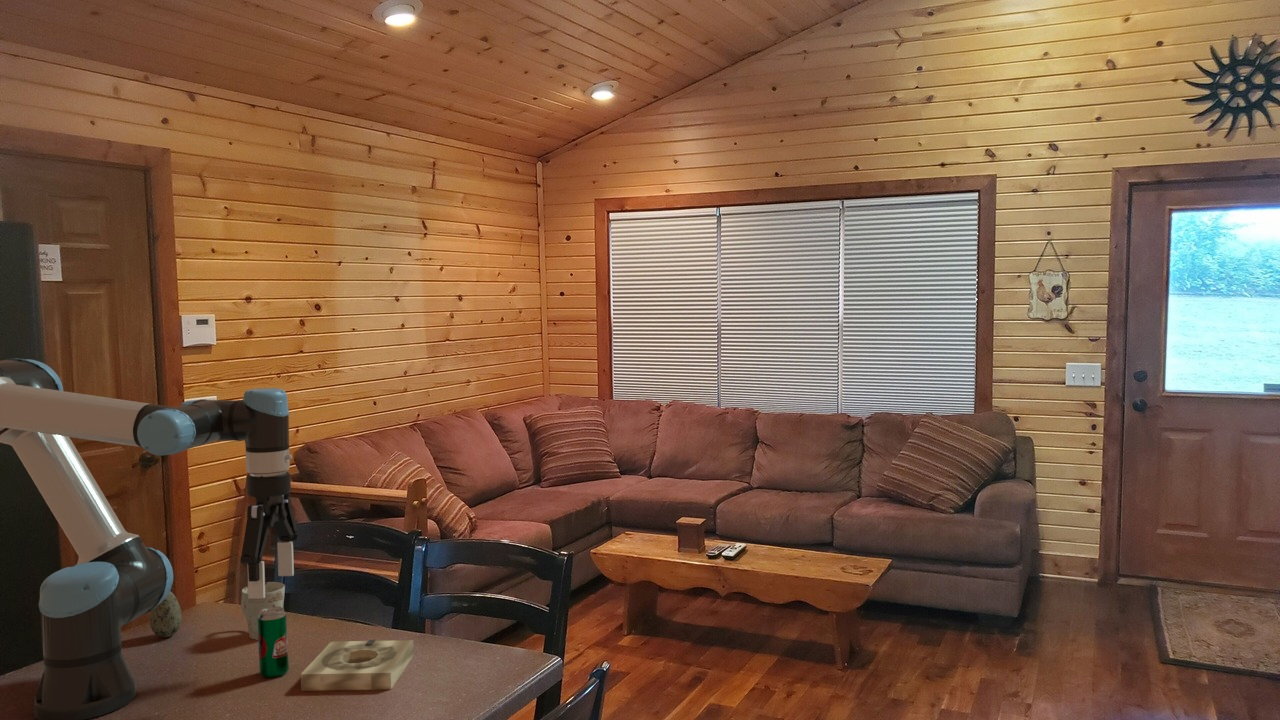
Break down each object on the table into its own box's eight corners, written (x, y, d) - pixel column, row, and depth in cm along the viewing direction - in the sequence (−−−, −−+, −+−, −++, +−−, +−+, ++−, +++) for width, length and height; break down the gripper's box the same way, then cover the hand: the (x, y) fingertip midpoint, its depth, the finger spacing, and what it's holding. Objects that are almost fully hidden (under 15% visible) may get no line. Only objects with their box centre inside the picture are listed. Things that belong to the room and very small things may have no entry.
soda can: (278, 680, 170) (275, 615, 169) (254, 678, 171) (251, 614, 170) (294, 669, 175) (291, 606, 174) (270, 667, 176) (267, 605, 175)
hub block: (301, 690, 165) (300, 673, 165) (331, 656, 181) (331, 640, 181) (391, 689, 165) (390, 671, 165) (413, 655, 181) (413, 639, 181)
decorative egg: (168, 630, 198) (165, 584, 198) (189, 633, 196) (186, 586, 195) (144, 639, 193) (141, 592, 192) (165, 643, 190) (162, 595, 190)
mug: (260, 645, 188) (257, 596, 188) (223, 634, 195) (221, 587, 195) (295, 632, 195) (293, 585, 195) (258, 622, 202) (256, 577, 201)
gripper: (261, 485, 158) (265, 608, 160) (312, 461, 183) (315, 567, 185) (217, 486, 158) (221, 608, 160) (274, 461, 183) (278, 567, 185)
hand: (272, 586), depth 172 cm, fingers open, 13 cm apart
